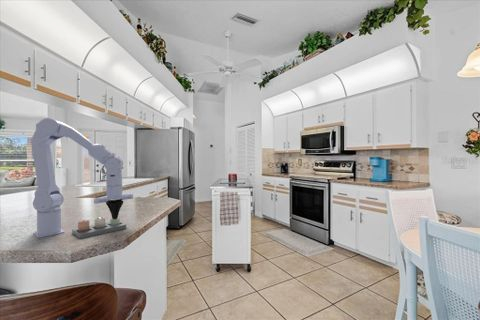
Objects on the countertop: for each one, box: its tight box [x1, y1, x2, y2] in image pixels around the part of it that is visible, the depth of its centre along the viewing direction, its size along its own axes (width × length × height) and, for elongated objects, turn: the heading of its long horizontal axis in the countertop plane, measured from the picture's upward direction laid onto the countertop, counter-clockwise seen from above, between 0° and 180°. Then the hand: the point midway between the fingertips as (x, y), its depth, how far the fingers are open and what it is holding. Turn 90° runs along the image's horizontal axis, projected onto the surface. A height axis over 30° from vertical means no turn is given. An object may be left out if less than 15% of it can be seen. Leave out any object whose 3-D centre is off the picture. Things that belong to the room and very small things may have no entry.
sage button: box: [109, 217, 121, 226], centre depth 95 cm, size 4×4×4 cm
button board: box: [71, 221, 127, 239], centre depth 91 cm, size 10×16×2 cm, turn 139°
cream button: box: [94, 216, 106, 228], centre depth 91 cm, size 4×4×4 cm
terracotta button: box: [77, 219, 91, 232], centre depth 87 cm, size 4×4×4 cm
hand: (114, 218), depth 95 cm, fingers closed, pressing on sage button
